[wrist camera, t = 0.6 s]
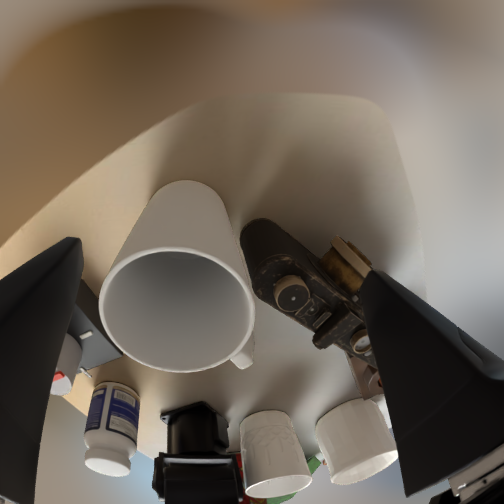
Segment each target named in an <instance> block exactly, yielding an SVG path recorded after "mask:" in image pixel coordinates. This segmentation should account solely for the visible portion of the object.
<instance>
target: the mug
mask: <svg viewBox="0 0 504 504" xmlns="http://www.w3.org/2000/svg"><path fill="white" fill-rule="evenodd" d="M99 313H100V318H101V321H102V324H103V326H104V329H105V330H106V332H107V334H108V336H109V337H110V338H111V340H112V341H113V342H114V344H115V345H116V346H117V347H118V348H119V349H120V350H121V351H123V352H124V353H125V354H126V355H128V356H129V357H131V358H132V359H134V360H136V361H137V362H139V363H141V364H143V365H146V366H148V367H151V368H154V369H158V370H162V371H168V372H178V373H186V372H196V371H202V370H206V369H209V368H212V367H215V366H218V365H220V364H222V363H224V362H226V361H227V360H229V359H230V360H231V361H232V362H233V363H234V364H235V365H236V366H237V367H238V368H240V369H245V368H247V367H249V366H250V365H252V364H253V362H254V359H253V356H252V355H253V351H254V334H253V327H254V323H255V303H254V299H253V296H252V293H251V291H250V287H249V283H248V279H247V276H246V273H245V269H244V266H243V263H242V260H241V257H240V253H239V250H238V247H237V244H236V241H235V238H234V234H233V231H232V228H231V224H230V221H229V218H228V215H227V212H226V209H225V206H224V204H223V202H222V200H221V198H220V197H219V195H218V194H217V193H216V192H215V191H214V190H213V189H211V188H210V187H208V186H207V185H205V184H203V183H200V182H197V181H191V180H180V181H175V182H172V183H169V184H167V185H165V186H164V187H162V188H161V189H159V190H158V191H157V192H156V193H155V194H154V195H153V197H152V198H151V199H150V201H149V202H148V204H147V205H146V207H145V208H144V210H143V212H142V213H141V215H140V217H139V219H138V220H137V222H136V224H135V225H134V227H133V229H132V231H131V232H130V234H129V236H128V237H127V239H126V241H125V243H124V244H123V246H122V248H121V250H120V252H119V253H118V255H117V257H116V259H115V261H114V263H113V265H112V267H111V269H110V271H109V273H108V275H107V276H106V278H105V280H104V282H103V284H102V287H101V290H100V295H99Z"/></svg>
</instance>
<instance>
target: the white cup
mask: <svg viewBox="0 0 504 504" xmlns="http://www.w3.org/2000/svg"><path fill="white" fill-rule="evenodd" d="M240 435H241V444H240V446H241V459H242V468H243V477H244V486H245V493H246V494H247V495H248V496H250V497H255V498H272V497H279V496H284V495H288V494H291V493H294V492H297V491H299V490H301V489H303V488H305V487H307V486H308V485H309V484H311V482H312V480H313V478H312V475H311V473H310V470H309V467H308V464H307V462H306V459H305V456H304V453H303V450H302V448H301V445H300V443H299V441H298V437H297V435H296V433H295V431H294V429H293V426H292V423H291V420H290V417H289V416H288V415H287V414H286V413H284V412H280V411H277V410H271V411H262V412H258V413H254V414H252V415H250V416H248V417H246V418H245V419H244V420H243V421H242V422H241V424H240Z"/></svg>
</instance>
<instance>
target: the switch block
mask: <svg viewBox="0 0 504 504" xmlns="http://www.w3.org/2000/svg"><path fill="white" fill-rule="evenodd" d="M345 354H346V357H347V360H348V362H349V365H350V368H351V371H352V374H353V376H354V379H355V382H356V385H357V388H358V390H359V392H360V394H361V396H362V398H363V400H364V401H365V400H367V399H369V398H371V397H373V396H375V395H380V394H384V392H383V388H382V385H381V384H380V382H379V378H380V377H379V373H378V369H376V368H374V367H372V366H370V365H368V364H367V363H365V362H363V361H361V360H360V359H358V358H356V357H355V356H353V355H351V354H349V353H348V352H346V351H345Z"/></svg>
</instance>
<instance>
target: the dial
mask: <svg viewBox="0 0 504 504" xmlns="http://www.w3.org/2000/svg"><path fill="white" fill-rule="evenodd" d="M81 358H82V350H81V347H80V345H79V344H78V342H77V341H76V340H75V339H74V338H73V337H72V336H70V335H69V334H67V333H66V336H65V339H64V342H63V346H62V349H61V353H60V356H59V360H58V363H57V367H56V371H55V375H54V379H53V383H52V387H51V391H50V393H51V394H54V395H66V394H68V393H69V392H70V391H71V389H72V385H73V382H74V379H75V376H76V373H77V370H78V367H79V364H80V361H81Z"/></svg>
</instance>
